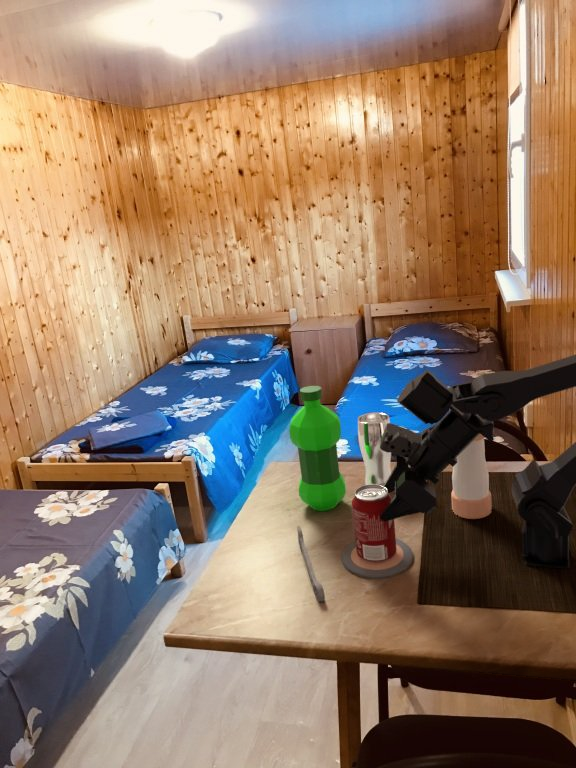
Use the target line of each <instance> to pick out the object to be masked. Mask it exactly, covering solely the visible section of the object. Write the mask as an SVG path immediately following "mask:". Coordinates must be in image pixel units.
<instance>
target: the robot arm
mask: <svg viewBox="0 0 576 768" xmlns="http://www.w3.org/2000/svg"><path fill="white" fill-rule="evenodd" d="M575 387H576V354H573V355H570V356H568V357H564V358H560V359H557V360H555V361H551V362H548V363H545V364H541V365H539V366H535V367H531V368H529V369H524V370H501V371H494V372H488V373H483V374H479V375H478V376H477V377H475V378H474V379H473V380H472V381H469V382H468V381H467V382H463V383H459V384H452V385H450V386H449V387H448V386H447V385H446V384H444V383H443V381H441V380H439V378H437V377H436V375H435V374H434V373H433V372H431V371H430V370H429V369H425V370H424V371H423V372H422V373H421V374H419V375H417V376H416V377H415V378H413V379H411V380H410V381H408V383H407V384H406V385H405V387H404V388H403V389H402V390H401V392H400V393H399V396H398V397H397V400H396V402H397V403H398V404H399V405H401V406H402V407H403V408H405V409H406V410H407V411H408V412H409V413H411V415H413V416H415V418H417V419H418V420H419V421H420V422H422V423H423V424H425V425H428V424H429V425H430V424H431V425H434V424H436V425H435V426H434V427H433V428H432V429H431V430H430V429H429V428H427V429H424V430H422V432H420V433H418V432H414V431H413V430H411V429H409V428H405V427H404V426H403V427H402V426H400V425H397V424H394V423H391V422H390V423H387V425H386V428H385V430H384V433H383V435H382V438H381V440H380V441H381V443H380V449H381V450H383V451H385V452H387V453H388V452H390V453H391V454H393V455H395V458H396V459H395V460H396V463H395V464H394V467H393V468H392V470H391V474H390V476H389V478H388V480H387V481H386V483H385V485H384V487H385V488H387V490H388V494H389V495H390V494H392V493H393V492H395V493H394V496H393V497H391V498H392V500H391V501H390V502H389V504H388V505H387V507H386V508H385V509H384V511H383V512H382V514H381V515H380V519H381V520H382V521H384V522H386V521H389V520H393V519H394V520H395V519H398V518H399V519H400V518H402V517H406V516H410V515H413V514H414V515H415V514H418V513H421V514H426V515H430V514H431V513H432V512H433V511H434V510H435V509H436V508H437V506H438V502H437V501H438V500H437V491H436V490H437V489H436V487H434V486H433V484H434V485H436V484H438V482H439V481H440V474H441V473H442V472H443V471H445V469H447V467H449V466H451V467H453V466H454V465H455V464H456V463H457V458H456V457H457V456H458V455H459V454H460V453H461V452H462V451H463V450H464V449H465V448H466V447H467V446H468V445H469V444H470V443H471V442H472V441H473V440H474V439H475V438H476V437H477V436H478V435H480V434H481V435H482V436H484V437H485V438H484V439H486V440H488V442H493V441H494V440H495V438H494V426H495V424H494V421H499V420H502V419H504V418H507V417H508V416H511V415H513V414H514V413H517V412H519V411H521V410H522V409H523V408H525V407H526V406H527V405H529V404H530V403H531V402H533V401H535V400H537V399H539V398H542V397H546V396H550V395H552V394H555V393H559V392H563V391H566V390H569V389H573V388H575ZM514 476H515V480H514V481H513V482H512V484H511V496H512V498H513V500H514V504H515V507H516V508H517V511H518V514H519V517H520V518H521V519H522V520H523V521H525V524H523V525H522V527H521V554H522V556H524V557H525V561H524V562H525V563H524V564H525V565H527V566H532V567H534V566H535V567H543V568H553V569H554V568H555V569H556V568H557V569H565V570H568V569H570V566H571V564H570V563H571V562H570V553H569V539H570V538H569V537H570V534H571V532H572V529H573V527H574V525H573V523H572V521H571V519H570V516H569V514H568V513H567V511H566V508H565V505H566V504H567V501H568V499H569V497H570V495H571V493H572V491H573V490H574V487H576V441H575V442H574V443H573V444H572V445H570V446H569V447H568V448H567V449H565V450H564V451H563V452H562V453H561V454H560V455H559V456H558V457H557V458H555V459H554V460H552V461H550V462H547V463H544V464H541V465H540V464H539V463H538V462H537V460H535V459H533V460H532V461H530V462H529V463H528V465H527V466H526V467H525V468H524V469H523V470H522V471H520V472H517V473H515V475H514ZM428 481H430V482H431V483H433V484H431V483H429V482H428Z"/></svg>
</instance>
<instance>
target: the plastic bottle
mask: <svg viewBox="0 0 576 768" xmlns="http://www.w3.org/2000/svg"><path fill="white" fill-rule="evenodd" d="M322 392H323V391H322V386H320V385H309V386H304V387H301V388H300V390H299V393H300V400H301V401H302V402H303V404H304V405H303V406H302V408H300V409H299V410H298V411H297V412H296V414H294V416H293V417H292V418H291V421H290V425H289V430H288V431H289V432H288V433H289V438H290V440H291V441H290V442H291V443H292V444H293V445H295V446H296V447H297V451H298V458H299V459H298V460H299V468H300V474H301V477H300V480H299V485H298V495H299V498H300V500H301V501H302V502H303V503H305V505H308V506H309V507H311V508H312V509H314V511H318V512H319V511H323V512H325V511H329V510H332V509H334V508H336V506H337V505H338V504H339V503H340V502H341V501H343V499H344V498H345V496H346V495H345V494H346V491H347V490H346V481H345V478H344V476H343V474H342V473H341V472H340V467H339V456H338V449H337V443H338V442H339V441H340V440H341V436H342V428H341V419H340V418H339V415H338V414H337V413H335V412H334V411H332V410H331V409H329V408H328V407H326V406H324V405H323V404H321V399H322V398H323V393H322Z"/></svg>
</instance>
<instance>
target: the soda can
mask: <svg viewBox="0 0 576 768" xmlns="http://www.w3.org/2000/svg"><path fill="white" fill-rule="evenodd" d="M392 498H393V497H391V495H390V493H389V494H388V490H387V488H385V487H384V486H381V485H375V484H371V485H365V484H364V485H362V486H359V487H358V488H356V489H355V491H354V496H353V498H352V501H351V508H352V509H351V510H352V516H353V517H352V519H353V520H352V521H353V527H354V537H355V538H354V540H355V541H356V550H357V555H358V557H359V558H360V559H362V560H364V561H366V562H371V563H382V562H385V561H388V560H390V559H392V558H393V557H394V556H395V555H396V552H397V550H396V539H397V538H396V537H397V536H396V528H395V527H396V526H395V519H393V520H389V521H386V522H384V521H382V520H381V519H380V515H381V514H382V512H383V511H384V509H385V508H386V507H387V505H388V504H389V502H390V501H391V500H392Z"/></svg>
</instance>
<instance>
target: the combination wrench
mask: <svg viewBox="0 0 576 768" xmlns="http://www.w3.org/2000/svg"><path fill="white" fill-rule="evenodd" d="M296 531H297V539H298V545H299V548H300V549H301V552H302V555H303V559H304V563H305V566H306V569H307V572H308V575H309V577H310V582H311V583H312V587H313V592H314V596H315V598H316V599H317V602H319V603H322V602H324V601H325V600H326V597H325V596H326V595H325V591H324V590H325V589H324V587H323V585H322V583H321V582H319V581H318V580H317V579H316V575H315V572H314V568H313V566H312V562H311V559H310V556H309V554H308V553H309V552H308V549H307V547H306V545H305V542H304V535H303V530H302V528H301V526H300V525H297V526H296Z"/></svg>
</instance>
